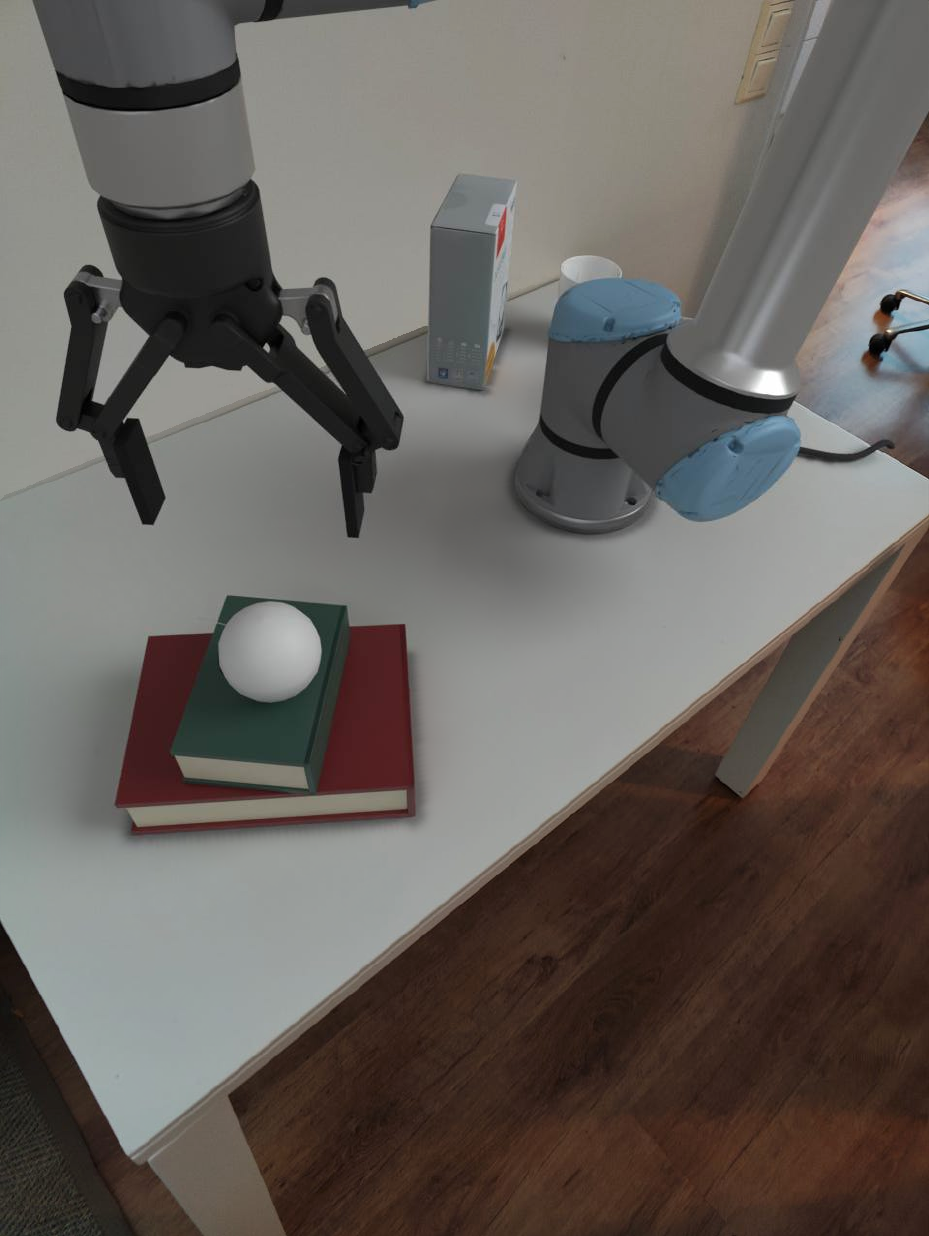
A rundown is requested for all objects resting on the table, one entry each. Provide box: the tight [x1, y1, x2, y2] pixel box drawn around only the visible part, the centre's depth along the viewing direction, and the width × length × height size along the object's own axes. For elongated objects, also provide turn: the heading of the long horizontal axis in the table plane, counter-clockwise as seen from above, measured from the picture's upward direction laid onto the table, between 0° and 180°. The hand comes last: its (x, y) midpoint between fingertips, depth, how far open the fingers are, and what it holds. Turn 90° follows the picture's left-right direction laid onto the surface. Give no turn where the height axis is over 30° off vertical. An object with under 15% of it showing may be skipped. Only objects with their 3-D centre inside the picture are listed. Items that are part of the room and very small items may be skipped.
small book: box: [170, 594, 351, 795], centre depth 64 cm, size 10×15×4 cm, turn 175°
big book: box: [114, 623, 417, 836], centre depth 68 cm, size 22×16×5 cm
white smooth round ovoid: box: [197, 601, 322, 703], centre depth 60 cm, size 10×7×7 cm
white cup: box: [557, 254, 623, 301], centre depth 109 cm, size 8×8×10 cm
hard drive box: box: [426, 172, 518, 391], centre depth 102 cm, size 16×8×20 cm, turn 168°
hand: (255, 517), depth 55 cm, fingers open, 13 cm apart
